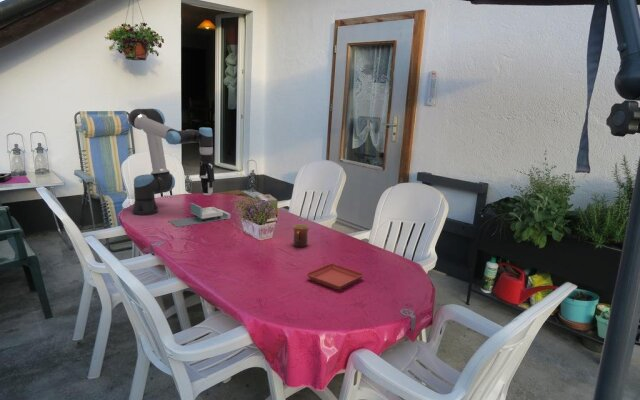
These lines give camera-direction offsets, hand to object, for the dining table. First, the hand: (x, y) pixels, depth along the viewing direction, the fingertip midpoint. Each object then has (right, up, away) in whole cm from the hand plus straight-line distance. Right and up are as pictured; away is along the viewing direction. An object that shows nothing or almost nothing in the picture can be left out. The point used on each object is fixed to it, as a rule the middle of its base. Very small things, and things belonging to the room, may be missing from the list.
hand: (207, 191), depth 262 cm
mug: (+58, -30, -38) cm, 75 cm away
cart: (-1, -17, +4) cm, 17 cm away
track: (-5, -17, +1) cm, 18 cm away
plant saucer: (+75, -40, -77) cm, 115 cm away
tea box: (+35, -18, +7) cm, 40 cm away
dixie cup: (0, -2, 0) cm, 2 cm away
